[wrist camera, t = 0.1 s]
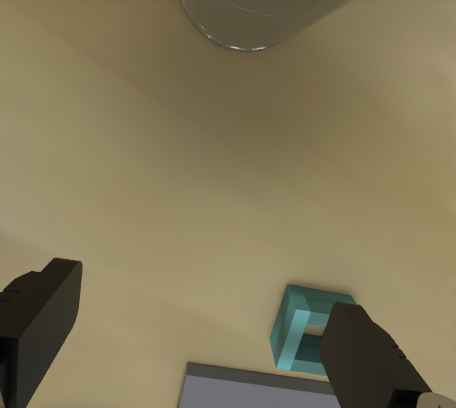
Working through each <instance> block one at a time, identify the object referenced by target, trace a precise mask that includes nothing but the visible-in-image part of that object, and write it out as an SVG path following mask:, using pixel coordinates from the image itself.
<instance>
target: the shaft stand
mask: <svg viewBox="0 0 456 408" xmlns="http://www.w3.org/2000/svg"><path fill="white" fill-rule="evenodd" d="M177 408H341V407H340V405H339V402H338V400H337V398H336V395H335V393H334V391H333V388H332V386H331V383H327V382H320V381H313V380H306V379H299V378H292V377H285V376H278V375H271V374H264V373H257V372H250V371H243V370H236V369H229V368H222V367H215V366H208V365H201V364H194V363H188V364H187V369H186V373H185V377H184V381H183V386H182V390H181V394H180V399H179V403H178V407H177Z"/></svg>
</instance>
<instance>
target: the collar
mask: <svg viewBox="0 0 456 408" xmlns="http://www.w3.org/2000/svg"><path fill="white" fill-rule="evenodd" d="M336 302H344V303H350V304H356V303H355V301H354V300H353V298H352V297H351V296H349V295H343V294H337V293H332V292H326V291H320V290H314V289H308V288H303V287H297V286H291V285H287V287H286V290H285V293H284V296H283V300H282V303H281V306H280V309H279V312H278V315H277V319H276V322H275V325H274V328H273V331H272V334H271V337H270V343H271V347H272V352H273V356H274V361H275V365H276V369H283V370H290V371H297V372H304V373H311V374H317V375H324V376H327V374H326V372H325V369H324V367H323V364H322V362H321V358H320V344H321V340H322V337H323V336H322V337H320V336H313V335H307V334H303V332H304V329H305V326H306V324H309V325H316V326H322V327H326V325H327V322H328V319H329V316H330V313H331V310H332V307H333V305H334V304H335V303H336Z"/></svg>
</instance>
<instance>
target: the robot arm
mask: <svg viewBox="0 0 456 408" xmlns="http://www.w3.org/2000/svg"><path fill="white" fill-rule="evenodd" d="M352 1H353V0H181V2H182V4H183V6H184V9H185V11H186V13H187V15H188V16H189V18H190V19H191V21H192V22H193V24H194V25H195V27H196V28H197V29H198V30H199V31H200V32H201V33H202V34H203V35H204V36H205V37H207V38H208V39H210V40H211V41H213V42H214V43H216V44H217V45H219V46H222V47H225V48H227V49H230V50H236V51H243V52H248V51H257V50H262V49H264V48H267V47H270V46H273V45H275V44H277V43H278V42H280V41H282V40H284V39H286V38H288V37H290V36H291V35H293V34H295V33H297V32H299V31H300V30H302V29H304V28H306V27H307V26H309V25H311V24H313V23H314V22H316V21H318V20H320V19H322V18H323V17H325V16H327V15H329V14H330V13H332V12H334V11H336V10H337V9H339V8H341V7H343V6H344V5H346V4H348V3H350V2H352ZM81 279H82V262H81V261H75V260H69V259H62V258H54V259H52V261H51V262H50V263H49V264H48V265H47V266H46V267H45V268H44V269H43V270H42V271H41V272H35V271H31V272H28V273H26V274H24V275H22V276H20V277H18V278H15V279H14V280H13V281H12V282H11V283H10V284H9V285H8V286H7V287H6V288H5V289H3V292H0V408H26V406H27V405H28V403H29V401H30V399H31V398H32V396H33V394H34V393H35V391H36V389H37V387H38V386H39V384H40V382H41V381H42V379H43V377H44V375H45V374H46V372H47V370H48V369H49V367H50V365H51V364H52V362H53V360H54V358H55V357H56V355H57V353H58V352H59V350H60V348H61V346H62V345H63V343H64V341H65V340H66V338H67V336H68V335H69V333H70V331H71V329H72V328H73V325H74V323H75V320H76V317H77V314H78V309H79V300H80V289H81ZM320 358H321V362H322V364H323V367H324V369H325V372H326V374H327V376H328V379H329V381H330V383H331V386H332V388H333V391H334V393H335V395H336V398H337V400H338V402H339V405H340V407H341V408H456V402H455V401H454V400H452V399H450V398H448V397H446V396H443V395H441V394H437V393H433V392H432V390H431V389H430V388H429V386H428V385H427V384H426V382H425V381H424V380H423V378H422V377H421V376H420V374H419V373H418V372H417V370H416V369H415V368H414V366H413V365H412V364H411V362H410V361H409V360H407V359H406V356H405V354H404V353H403V352H402V351H401V349H399V348H398V345H397V344H396V343H395V341H394V340H393V339H392V337H391V336H390V335H389V334H388V333H387V332H386V331H385V330H383V329H382V328H381V327H380V326H379V325H377V324H376V323H374V322H373V321H372V320H371V318H370V317H369V316H368V314H367V313H366V311H365V310H364V309H363V307H362V306H361V305H357V304H350V303H344V302H336V303H335V304H334V305H333V307H332V310H331V313H330V316H329V319H328V322H327V325H326V328H325V331H324V334H323V337H322V340H321V344H320Z"/></svg>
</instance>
